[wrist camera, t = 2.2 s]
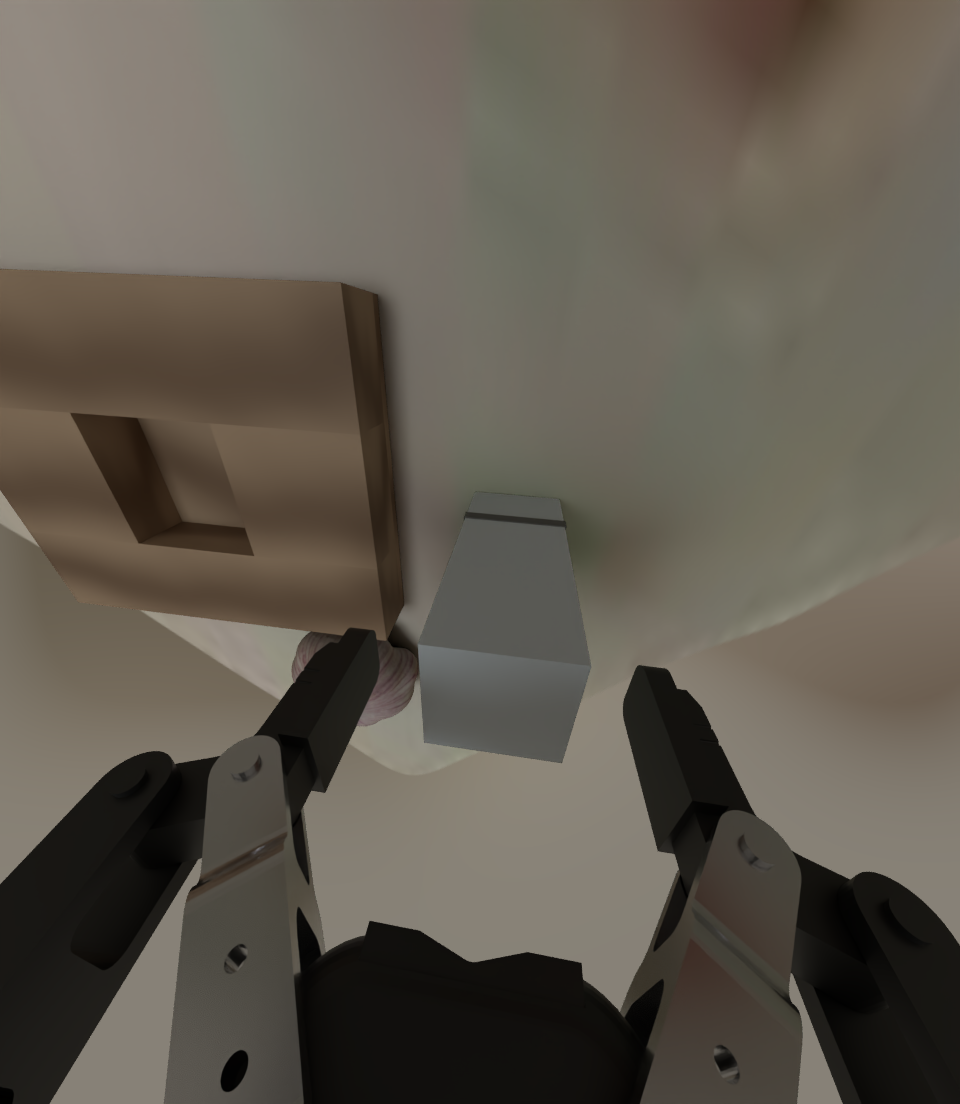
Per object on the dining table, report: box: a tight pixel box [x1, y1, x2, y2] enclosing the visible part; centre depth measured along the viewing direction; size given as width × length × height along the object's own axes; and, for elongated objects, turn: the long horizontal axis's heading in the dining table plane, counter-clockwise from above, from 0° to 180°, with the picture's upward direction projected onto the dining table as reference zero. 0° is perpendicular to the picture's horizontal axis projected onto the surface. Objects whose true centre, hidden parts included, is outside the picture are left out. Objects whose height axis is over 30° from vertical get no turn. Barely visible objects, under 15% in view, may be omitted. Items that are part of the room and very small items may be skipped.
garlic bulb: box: [292, 631, 418, 726], centre depth 20 cm, size 8×7×8 cm
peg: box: [418, 492, 591, 763], centre depth 13 cm, size 4×4×10 cm
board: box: [0, 269, 404, 641], centre depth 16 cm, size 15×18×3 cm
